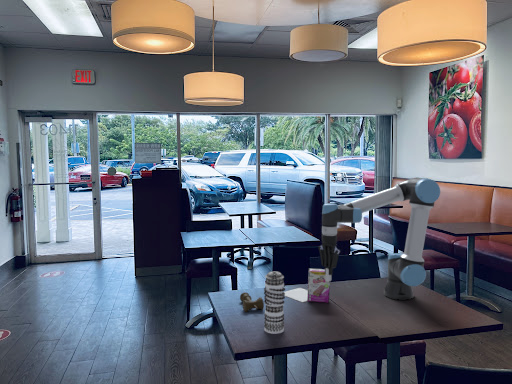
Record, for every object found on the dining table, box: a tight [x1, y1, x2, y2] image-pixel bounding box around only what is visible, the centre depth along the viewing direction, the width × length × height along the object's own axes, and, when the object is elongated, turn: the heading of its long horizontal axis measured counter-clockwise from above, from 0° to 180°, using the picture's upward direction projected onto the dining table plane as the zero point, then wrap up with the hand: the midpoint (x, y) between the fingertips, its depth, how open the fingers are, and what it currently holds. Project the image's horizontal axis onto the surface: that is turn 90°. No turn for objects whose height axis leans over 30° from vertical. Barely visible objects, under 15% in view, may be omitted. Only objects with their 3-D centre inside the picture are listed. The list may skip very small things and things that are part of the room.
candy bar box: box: [307, 268, 331, 303], centre depth 213 cm, size 11×5×16 cm, turn 84°
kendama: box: [239, 291, 265, 313], centre depth 204 cm, size 6×10×20 cm
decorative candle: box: [263, 271, 286, 335], centre depth 177 cm, size 9×9×25 cm
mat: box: [283, 287, 309, 303], centre depth 224 cm, size 18×16×1 cm
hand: (328, 280), depth 208 cm, fingers closed
